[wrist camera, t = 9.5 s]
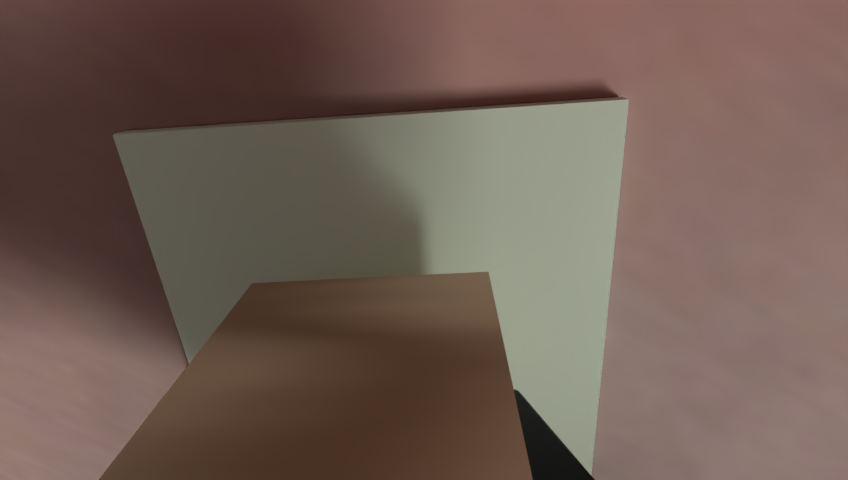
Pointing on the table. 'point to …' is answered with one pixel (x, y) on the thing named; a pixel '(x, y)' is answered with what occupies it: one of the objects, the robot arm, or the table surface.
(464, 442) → the sandy foam cube
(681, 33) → the table surface
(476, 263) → the pad
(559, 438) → the robot arm
